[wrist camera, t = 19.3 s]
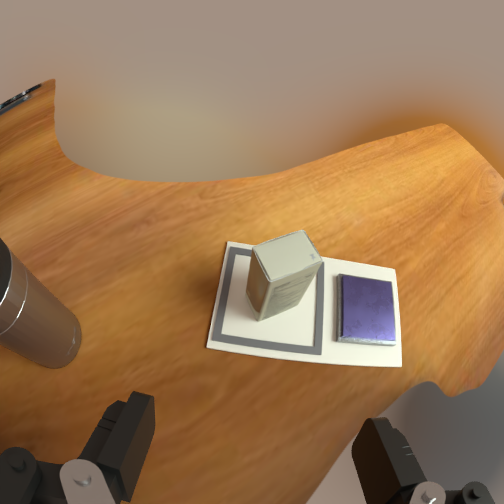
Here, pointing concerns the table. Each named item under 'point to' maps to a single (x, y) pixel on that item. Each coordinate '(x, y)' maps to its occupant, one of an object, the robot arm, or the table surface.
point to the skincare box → (280, 273)
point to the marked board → (295, 317)
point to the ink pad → (365, 311)
